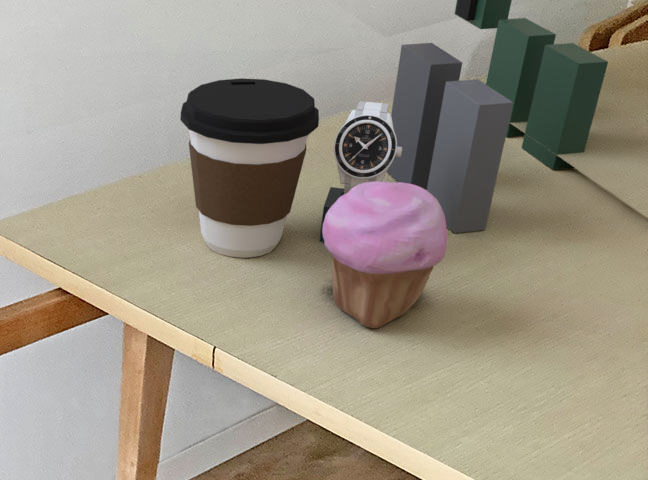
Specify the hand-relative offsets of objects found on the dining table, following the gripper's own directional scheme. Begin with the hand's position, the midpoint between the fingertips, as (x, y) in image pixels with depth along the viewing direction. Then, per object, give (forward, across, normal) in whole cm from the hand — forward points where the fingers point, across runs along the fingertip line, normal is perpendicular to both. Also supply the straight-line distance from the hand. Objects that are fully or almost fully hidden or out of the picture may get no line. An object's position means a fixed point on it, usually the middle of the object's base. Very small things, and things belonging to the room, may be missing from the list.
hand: (480, 15), depth 115 cm
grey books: (+9, +16, +25) cm, 31 cm away
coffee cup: (+9, +36, +30) cm, 47 cm away
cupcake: (+9, +30, +44) cm, 54 cm away
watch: (+9, +26, +31) cm, 41 cm away
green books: (+9, 0, +14) cm, 16 cm away
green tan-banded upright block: (+1, 0, 0) cm, 1 cm away
